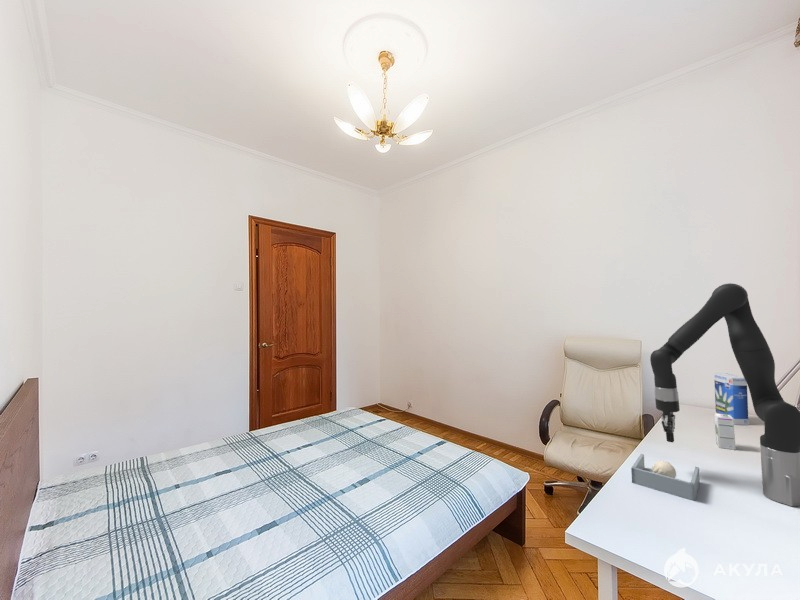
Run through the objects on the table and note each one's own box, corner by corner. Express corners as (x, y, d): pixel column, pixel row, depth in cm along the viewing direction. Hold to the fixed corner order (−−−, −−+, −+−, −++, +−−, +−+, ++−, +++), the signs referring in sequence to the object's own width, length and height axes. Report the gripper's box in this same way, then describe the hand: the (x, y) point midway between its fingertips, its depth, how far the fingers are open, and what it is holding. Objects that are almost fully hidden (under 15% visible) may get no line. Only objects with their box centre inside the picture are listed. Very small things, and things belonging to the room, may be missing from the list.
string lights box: (715, 417, 197) (713, 373, 198) (730, 417, 196) (727, 373, 197) (734, 425, 184) (731, 377, 185) (750, 425, 183) (747, 377, 184)
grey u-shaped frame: (641, 467, 139) (641, 453, 140) (699, 482, 126) (698, 467, 127) (631, 482, 127) (631, 467, 128) (694, 501, 115) (694, 484, 115)
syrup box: (736, 450, 153) (734, 418, 153) (718, 447, 156) (717, 416, 156) (732, 445, 158) (730, 414, 158) (715, 443, 161) (713, 412, 161)
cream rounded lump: (648, 475, 133) (647, 458, 133) (667, 475, 132) (666, 458, 132) (660, 484, 126) (660, 466, 126) (680, 484, 126) (680, 466, 126)
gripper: (658, 393, 144) (662, 434, 143) (651, 400, 135) (655, 444, 134) (681, 396, 138) (685, 438, 138) (675, 403, 129) (679, 449, 129)
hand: (670, 441), depth 136 cm, fingers closed
